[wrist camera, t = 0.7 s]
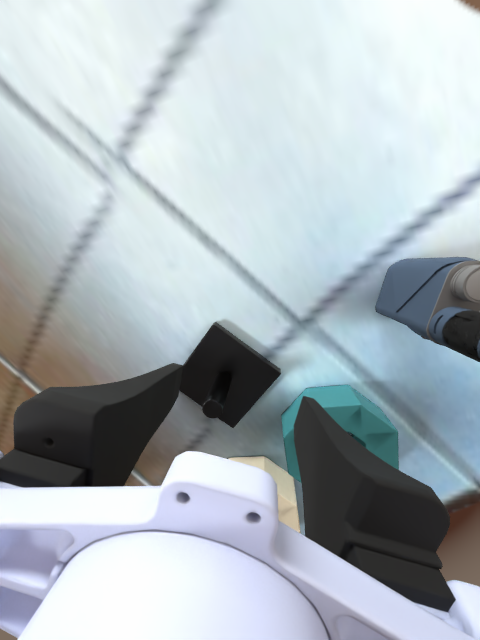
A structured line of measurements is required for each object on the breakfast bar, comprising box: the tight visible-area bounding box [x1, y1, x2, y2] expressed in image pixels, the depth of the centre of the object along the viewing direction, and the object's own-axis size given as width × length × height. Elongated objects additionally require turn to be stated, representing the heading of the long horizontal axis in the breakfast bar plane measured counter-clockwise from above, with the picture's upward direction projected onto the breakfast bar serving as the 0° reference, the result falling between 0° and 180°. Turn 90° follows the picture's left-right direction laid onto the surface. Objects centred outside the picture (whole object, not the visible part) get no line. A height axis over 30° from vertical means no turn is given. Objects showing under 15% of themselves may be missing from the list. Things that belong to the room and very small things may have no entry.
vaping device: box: [376, 257, 480, 362], centre depth 15 cm, size 3×5×12 cm, turn 169°
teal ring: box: [281, 385, 399, 482], centre depth 23 cm, size 10×10×3 cm
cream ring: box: [228, 456, 301, 534], centre depth 26 cm, size 10×10×3 cm
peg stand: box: [179, 322, 281, 428], centre depth 21 cm, size 8×8×6 cm
